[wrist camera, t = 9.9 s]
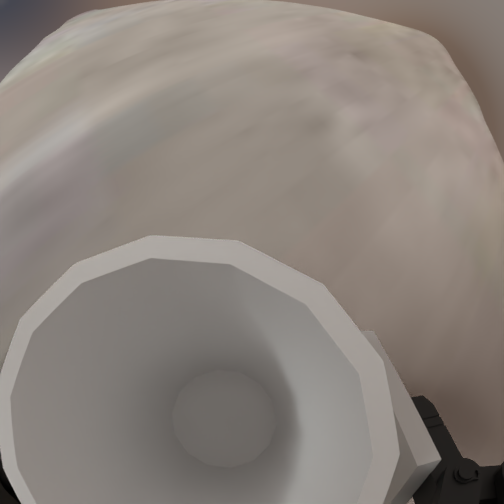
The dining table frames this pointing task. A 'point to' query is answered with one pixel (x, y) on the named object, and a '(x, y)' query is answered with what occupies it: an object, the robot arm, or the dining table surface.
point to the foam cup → (193, 385)
